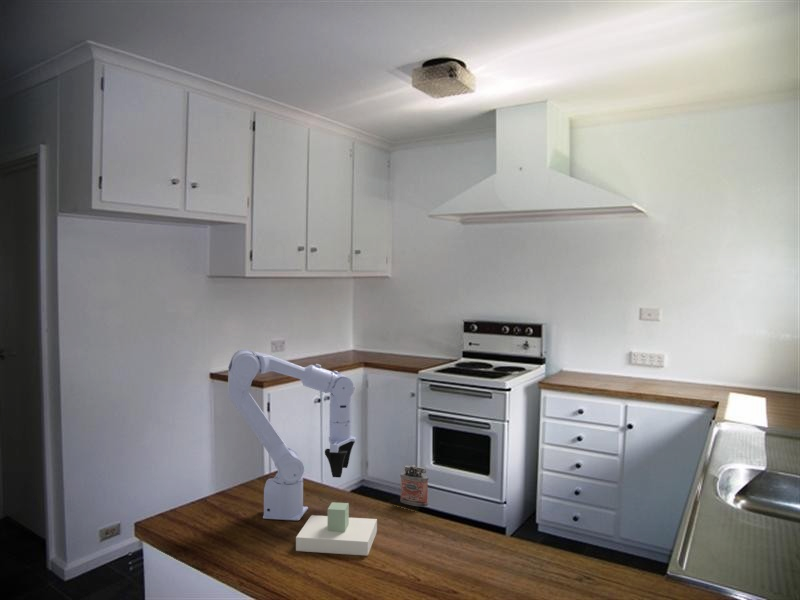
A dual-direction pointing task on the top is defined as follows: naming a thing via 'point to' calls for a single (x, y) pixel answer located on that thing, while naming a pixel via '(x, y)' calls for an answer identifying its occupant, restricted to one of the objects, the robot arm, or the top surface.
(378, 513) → the top surface
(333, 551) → the base plinth
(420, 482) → the lighter
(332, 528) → the green block
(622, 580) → the top surface
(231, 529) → the top surface
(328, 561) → the top surface
